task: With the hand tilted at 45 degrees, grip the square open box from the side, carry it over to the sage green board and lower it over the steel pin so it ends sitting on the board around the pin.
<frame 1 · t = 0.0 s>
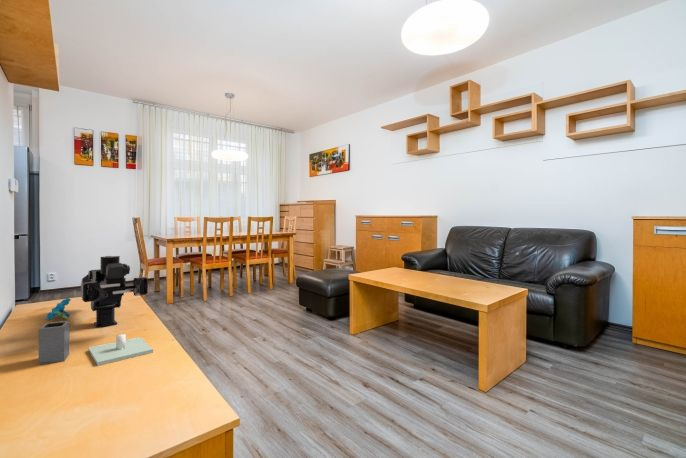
hand: (122, 293, 109), 17 cm above the table, tool horizontal, fingers open, 9 cm apart
blue toy figurine: (58, 318, 132), on the table
square open box: (54, 359, 96), on the table
pin board: (120, 351, 103), on the table
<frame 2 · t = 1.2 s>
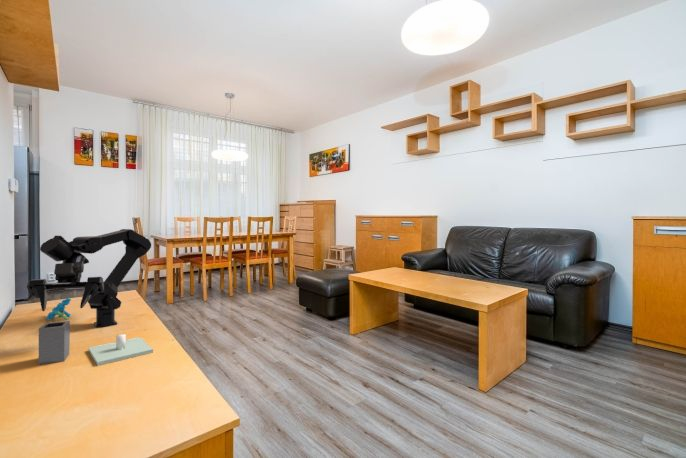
hand: (62, 309, 102), 13 cm above the table, tool tilted 45°, fingers open, 9 cm apart
nothing on the table moved.
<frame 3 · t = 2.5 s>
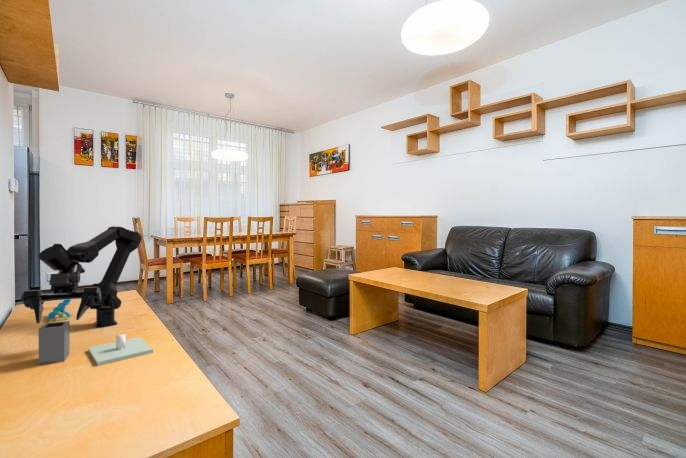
hand: (57, 321, 99), 10 cm above the table, tool tilted 45°, fingers open, 9 cm apart
nothing on the table moved.
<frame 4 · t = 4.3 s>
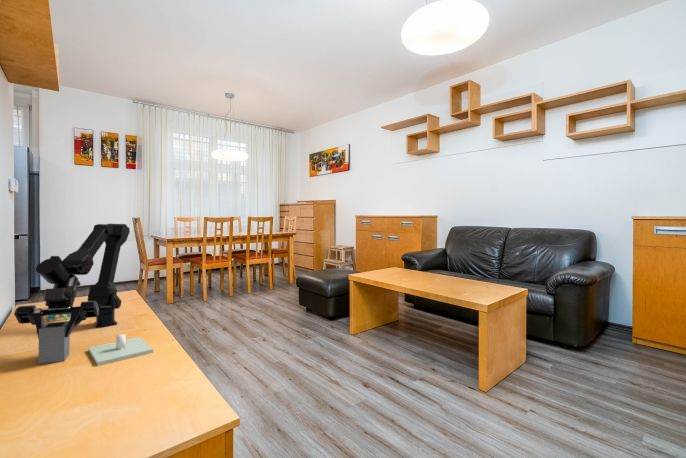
hand: (53, 338, 94), 7 cm above the table, tool tilted 45°, fingers closed on square open box, 6 cm apart
square open box: (54, 359, 96), on the table, touching gripper
everything else where it was.
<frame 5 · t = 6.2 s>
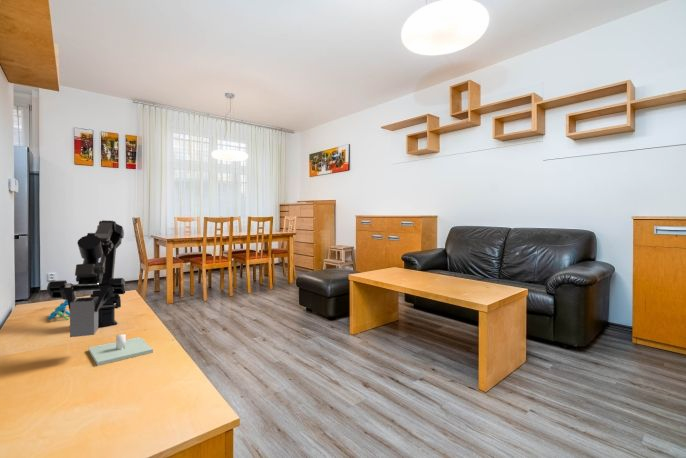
hand: (83, 312, 97), 13 cm above the table, tool tilted 45°, fingers closed on square open box, 6 cm apart
square open box: (84, 332, 99), point 7 cm above the table, touching gripper
everything else where it was.
when the fingers open (9 cm above the table, at t = 8.3 s): square open box drops 1 cm, resting on pin board.
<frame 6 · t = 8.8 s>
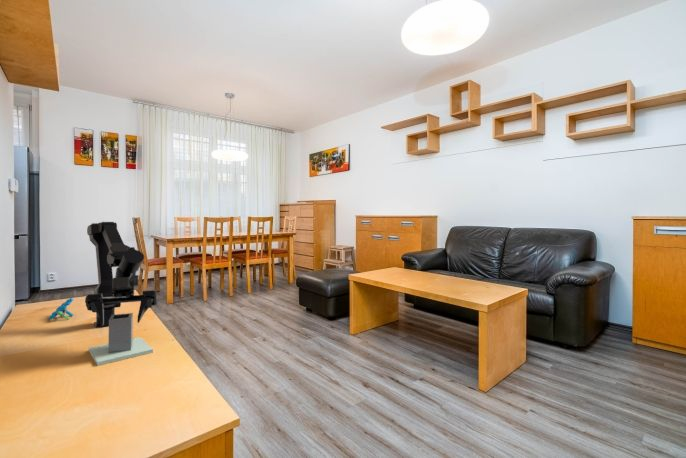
hand: (120, 323, 101), 9 cm above the table, tool tilted 45°, fingers open, 9 cm apart
square open box: (120, 348, 102), point 1 cm above the table, touching pin board
everything else where it was.
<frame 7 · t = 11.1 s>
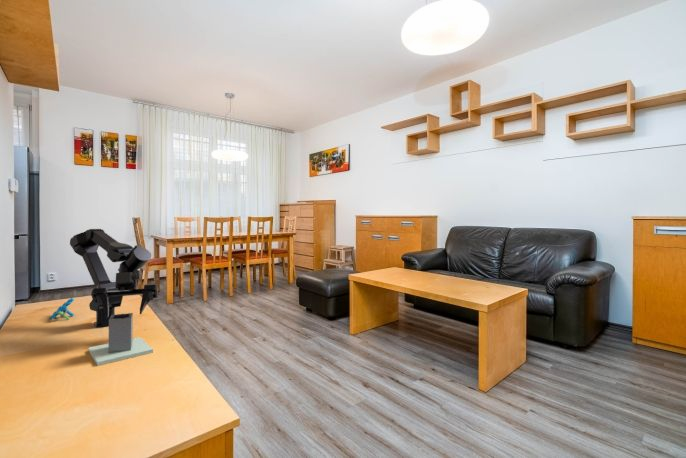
hand: (124, 315, 109), 9 cm above the table, tool tilted 45°, fingers open, 9 cm apart
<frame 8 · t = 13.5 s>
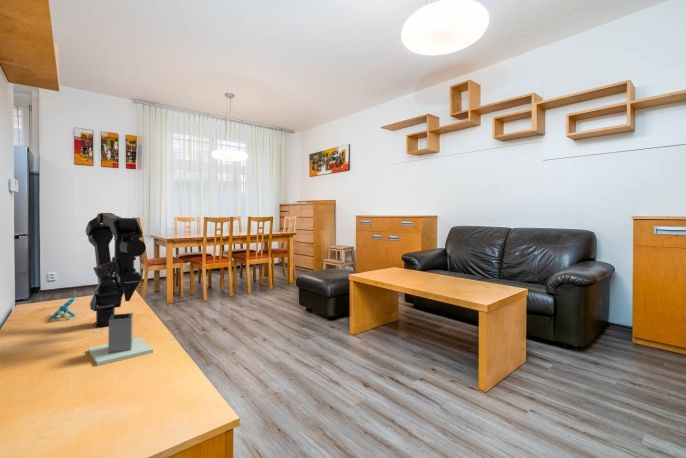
hand: (123, 298, 115), 13 cm above the table, tool pointing down, fingers open, 9 cm apart
at the end: square open box 0.1 cm off-centre on the pin board, point 1.0 cm above the pin board's base; square open box tilted 0°; the gripper is holding nothing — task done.
